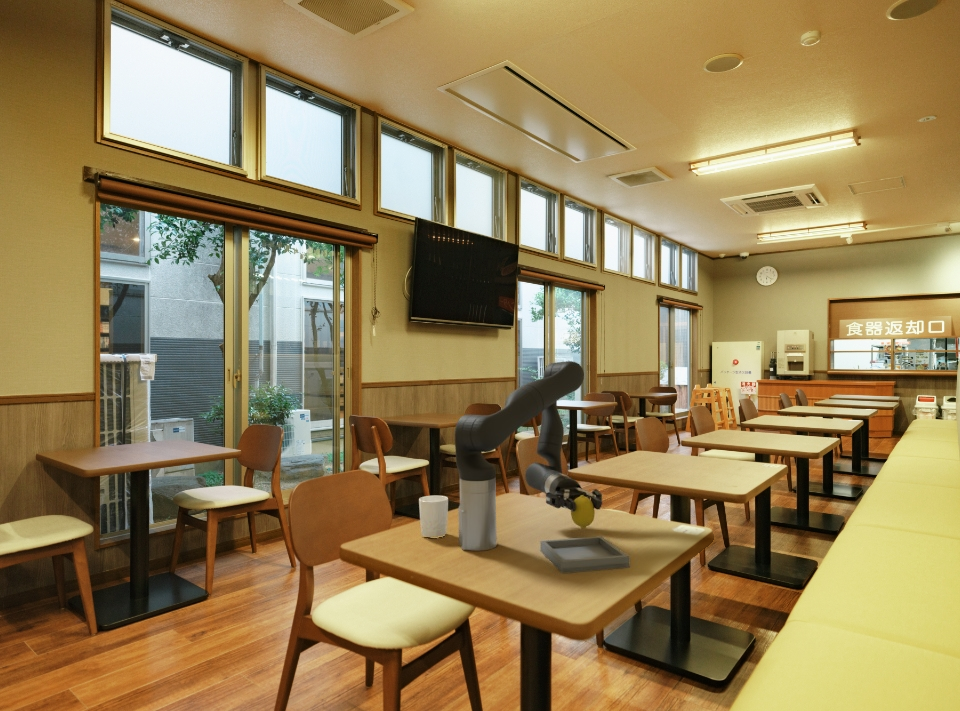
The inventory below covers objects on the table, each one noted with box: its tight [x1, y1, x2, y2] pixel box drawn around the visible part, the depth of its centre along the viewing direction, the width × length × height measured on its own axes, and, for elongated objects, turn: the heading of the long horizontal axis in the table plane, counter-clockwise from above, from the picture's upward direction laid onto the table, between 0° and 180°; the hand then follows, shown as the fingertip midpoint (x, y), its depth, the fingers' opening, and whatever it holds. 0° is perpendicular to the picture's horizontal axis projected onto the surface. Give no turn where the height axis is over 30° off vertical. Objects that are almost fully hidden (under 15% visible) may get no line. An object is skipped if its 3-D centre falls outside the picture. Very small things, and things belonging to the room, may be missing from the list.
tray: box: [539, 535, 631, 574], centre depth 140 cm, size 16×16×2 cm
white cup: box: [418, 494, 449, 537], centre depth 161 cm, size 8×8×10 cm
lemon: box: [570, 495, 596, 530], centre depth 140 cm, size 6×6×8 cm
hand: (586, 506), depth 138 cm, fingers closed on lemon, 5 cm apart
